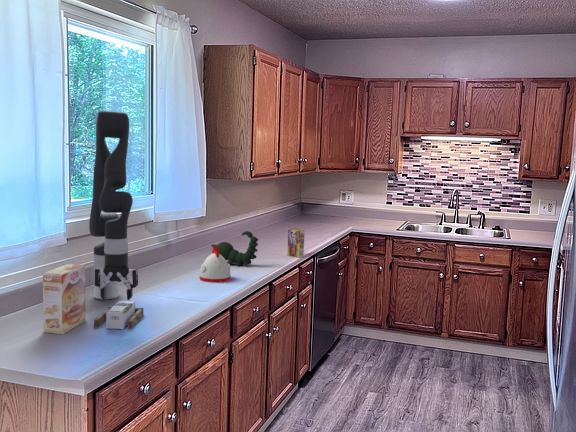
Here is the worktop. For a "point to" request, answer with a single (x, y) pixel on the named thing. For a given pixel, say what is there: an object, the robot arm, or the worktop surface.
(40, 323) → the worktop surface
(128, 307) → the syrup box
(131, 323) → the walnut U-rest
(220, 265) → the kitchen timer
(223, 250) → the toy figurine
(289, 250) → the candy box
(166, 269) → the worktop surface
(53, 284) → the coffeecake box
